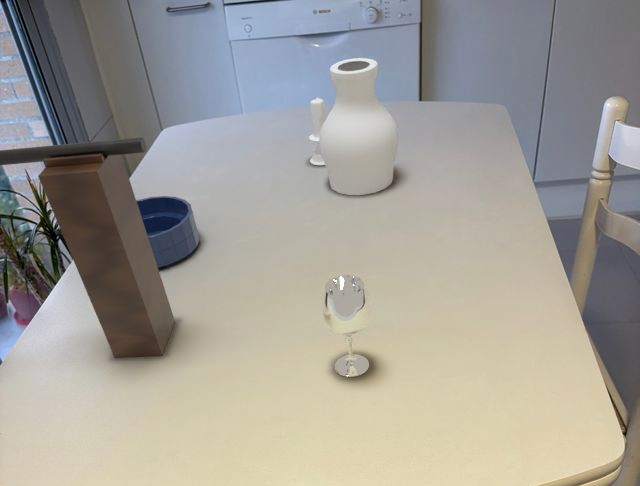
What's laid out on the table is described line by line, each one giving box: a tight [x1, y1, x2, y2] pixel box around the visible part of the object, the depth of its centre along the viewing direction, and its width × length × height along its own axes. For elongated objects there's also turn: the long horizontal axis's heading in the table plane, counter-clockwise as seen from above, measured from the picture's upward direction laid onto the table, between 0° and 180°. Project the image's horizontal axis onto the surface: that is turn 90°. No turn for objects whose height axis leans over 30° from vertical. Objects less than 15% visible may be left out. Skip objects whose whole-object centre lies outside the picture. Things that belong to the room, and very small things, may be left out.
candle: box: [308, 97, 327, 166], centre depth 127 cm, size 5×5×12 cm
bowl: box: [136, 195, 201, 268], centre depth 110 cm, size 15×15×6 cm
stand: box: [37, 154, 176, 358], centre depth 84 cm, size 7×8×27 cm
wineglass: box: [322, 274, 372, 378], centre depth 79 cm, size 6×6×12 cm
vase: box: [319, 57, 399, 196], centre depth 115 cm, size 14×14×20 cm
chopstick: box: [0, 136, 147, 166], centre depth 75 cm, size 20×2×2 cm, turn 86°
